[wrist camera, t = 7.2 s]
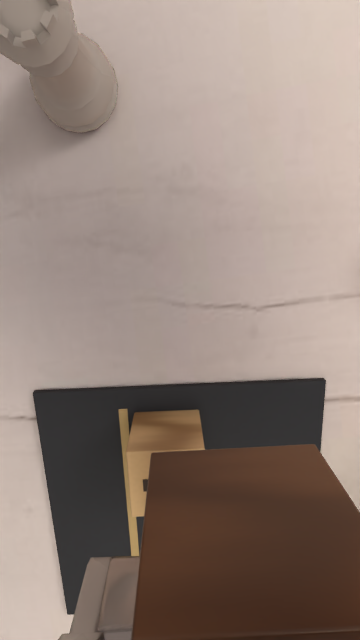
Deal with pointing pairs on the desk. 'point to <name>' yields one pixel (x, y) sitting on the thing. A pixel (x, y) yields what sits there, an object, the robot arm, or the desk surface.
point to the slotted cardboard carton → (157, 446)
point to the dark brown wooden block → (247, 548)
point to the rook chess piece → (59, 62)
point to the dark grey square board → (111, 444)
